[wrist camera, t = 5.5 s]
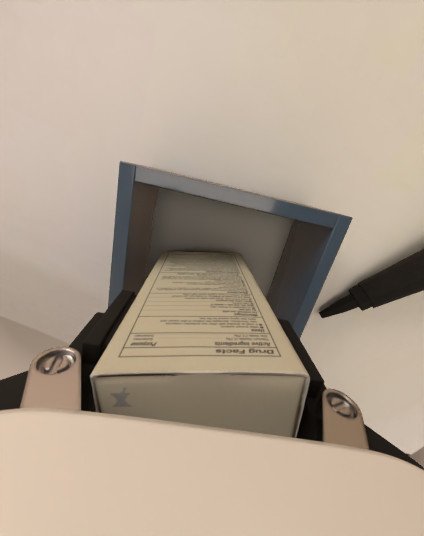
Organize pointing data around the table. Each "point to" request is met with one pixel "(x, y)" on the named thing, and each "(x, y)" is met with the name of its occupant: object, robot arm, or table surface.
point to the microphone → (383, 286)
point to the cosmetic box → (203, 351)
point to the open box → (306, 217)
